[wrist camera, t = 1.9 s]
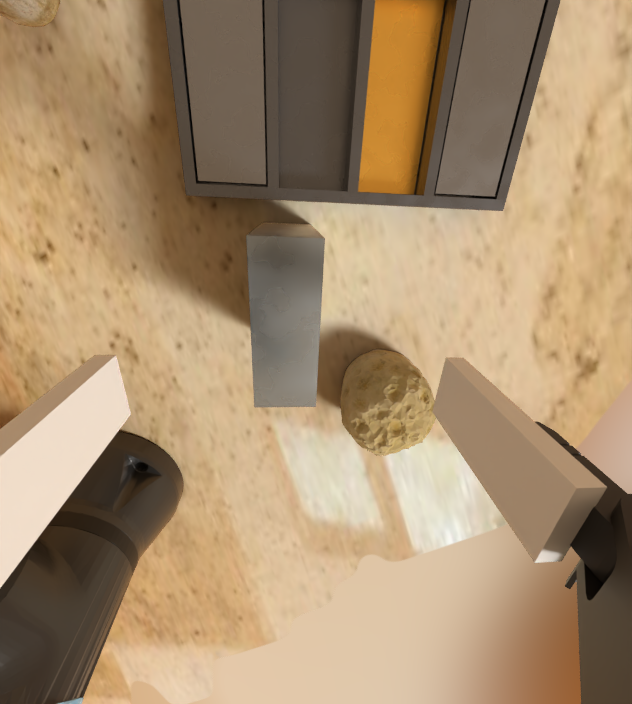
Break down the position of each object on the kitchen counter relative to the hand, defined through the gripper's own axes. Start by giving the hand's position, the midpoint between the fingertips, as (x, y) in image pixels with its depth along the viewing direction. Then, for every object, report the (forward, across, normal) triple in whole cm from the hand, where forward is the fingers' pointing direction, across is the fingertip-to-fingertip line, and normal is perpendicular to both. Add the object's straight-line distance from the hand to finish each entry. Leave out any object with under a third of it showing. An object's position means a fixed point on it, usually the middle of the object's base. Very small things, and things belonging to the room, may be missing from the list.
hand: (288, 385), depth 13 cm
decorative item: (+18, +10, -11) cm, 23 cm away
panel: (+18, 0, 0) cm, 18 cm away
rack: (+18, +5, +14) cm, 23 cm away
